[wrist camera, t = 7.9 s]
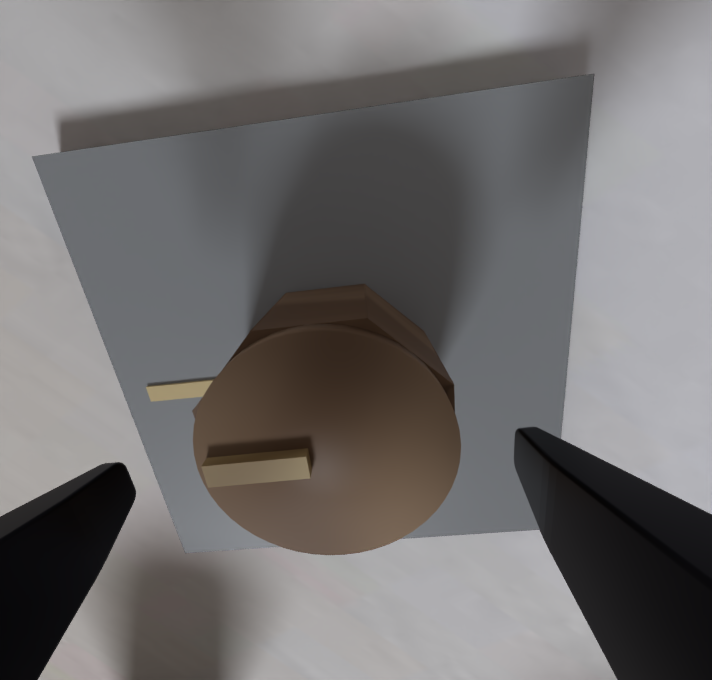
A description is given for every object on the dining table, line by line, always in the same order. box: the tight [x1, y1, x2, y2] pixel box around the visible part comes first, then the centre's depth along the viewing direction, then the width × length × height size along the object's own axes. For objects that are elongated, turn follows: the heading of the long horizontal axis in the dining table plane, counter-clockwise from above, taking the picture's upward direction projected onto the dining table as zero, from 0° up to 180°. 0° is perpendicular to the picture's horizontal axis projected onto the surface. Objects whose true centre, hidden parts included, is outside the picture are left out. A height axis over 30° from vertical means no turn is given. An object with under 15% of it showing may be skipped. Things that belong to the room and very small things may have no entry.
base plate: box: [32, 74, 594, 553], centre depth 11 cm, size 16×16×4 cm
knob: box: [192, 284, 461, 555], centre depth 10 cm, size 6×6×5 cm
